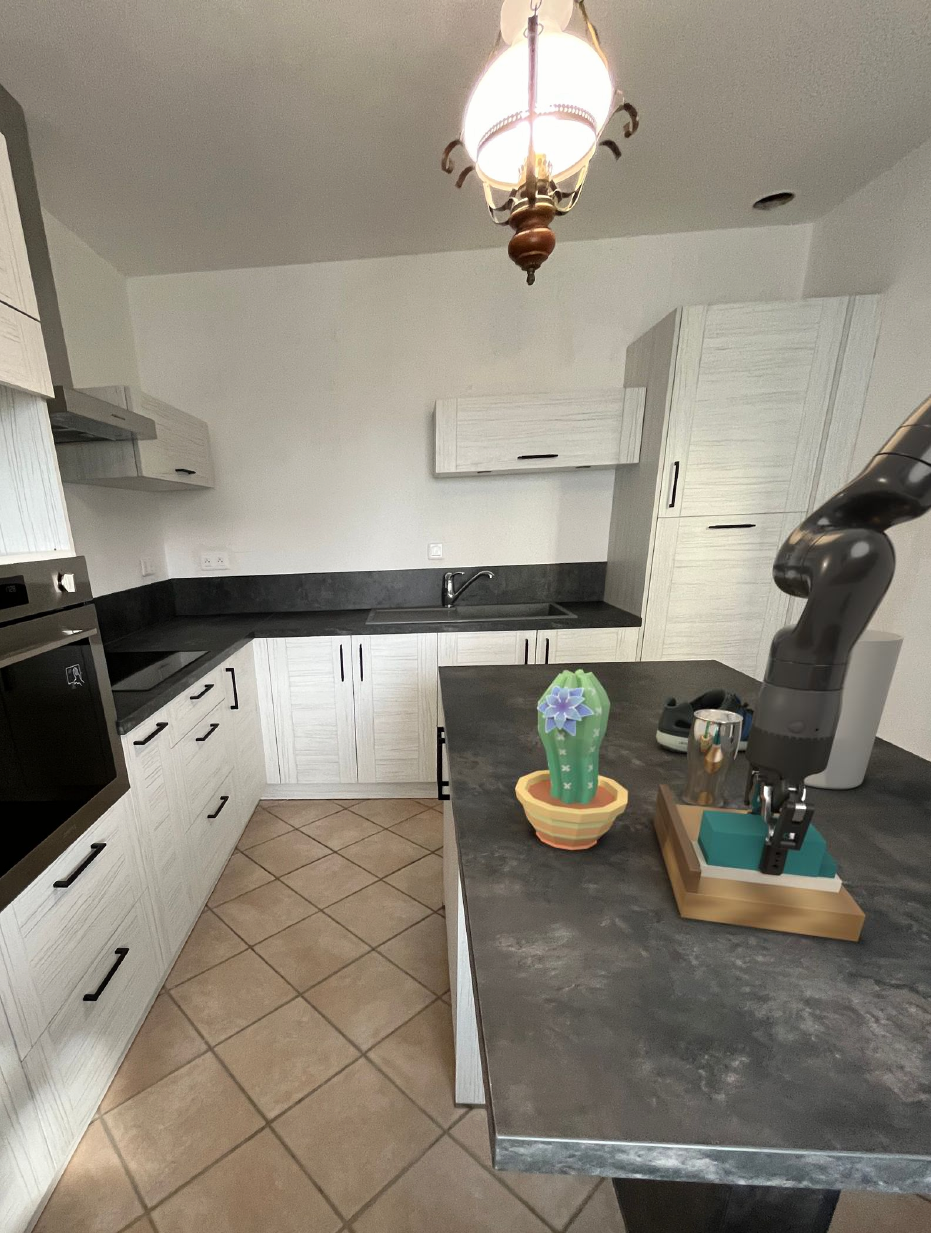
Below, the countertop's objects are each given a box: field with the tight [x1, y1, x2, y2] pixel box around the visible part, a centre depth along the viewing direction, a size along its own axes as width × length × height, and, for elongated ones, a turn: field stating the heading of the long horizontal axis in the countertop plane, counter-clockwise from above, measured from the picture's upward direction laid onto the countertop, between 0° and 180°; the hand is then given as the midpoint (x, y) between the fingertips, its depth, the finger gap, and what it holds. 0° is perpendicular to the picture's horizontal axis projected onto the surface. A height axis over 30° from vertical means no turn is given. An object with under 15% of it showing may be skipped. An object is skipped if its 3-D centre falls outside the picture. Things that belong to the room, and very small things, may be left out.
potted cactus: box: [514, 668, 629, 851], centre depth 82 cm, size 15×15×25 cm
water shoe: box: [655, 688, 754, 754], centre depth 118 cm, size 10×29×12 cm, turn 104°
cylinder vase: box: [804, 628, 905, 790], centre depth 100 cm, size 12×12×25 cm
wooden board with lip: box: [653, 783, 866, 942], centre depth 75 cm, size 17×24×7 cm
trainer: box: [691, 810, 843, 893], centre depth 69 cm, size 14×6×6 cm, turn 73°
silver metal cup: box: [681, 709, 743, 808], centre depth 93 cm, size 7×7×15 cm
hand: (761, 858), depth 70 cm, fingers closed on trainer, 5 cm apart
